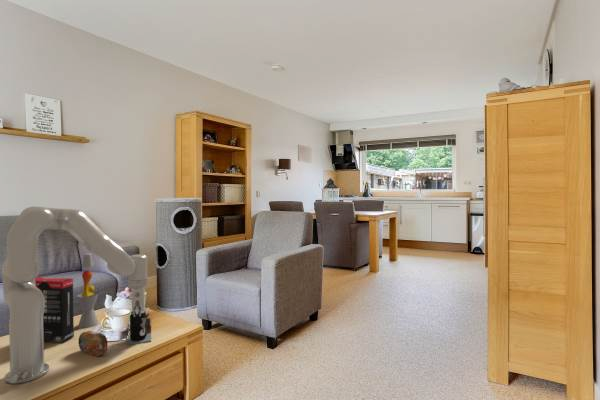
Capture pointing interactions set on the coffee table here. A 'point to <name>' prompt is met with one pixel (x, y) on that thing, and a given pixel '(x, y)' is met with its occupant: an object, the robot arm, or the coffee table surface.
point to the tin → (93, 343)
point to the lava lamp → (87, 296)
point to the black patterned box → (148, 324)
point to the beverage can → (138, 327)
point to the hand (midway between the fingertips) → (137, 321)
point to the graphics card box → (57, 308)
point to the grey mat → (146, 339)
